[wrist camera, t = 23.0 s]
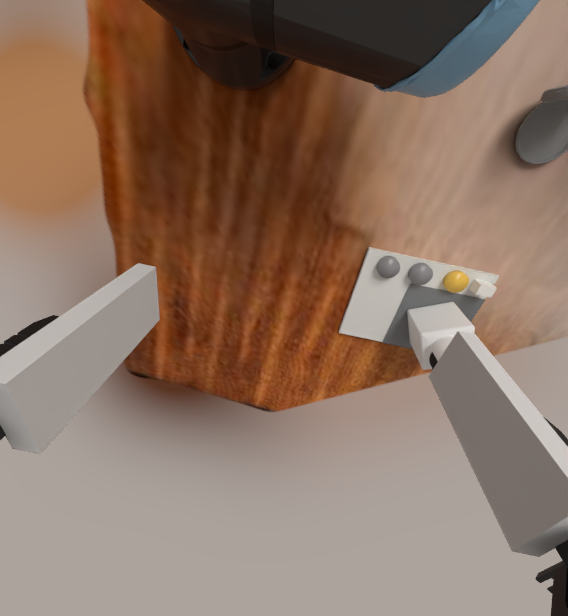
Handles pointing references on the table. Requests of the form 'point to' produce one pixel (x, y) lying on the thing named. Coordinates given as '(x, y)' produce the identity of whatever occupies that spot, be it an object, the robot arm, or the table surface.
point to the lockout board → (408, 294)
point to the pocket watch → (545, 129)
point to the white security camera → (435, 330)
